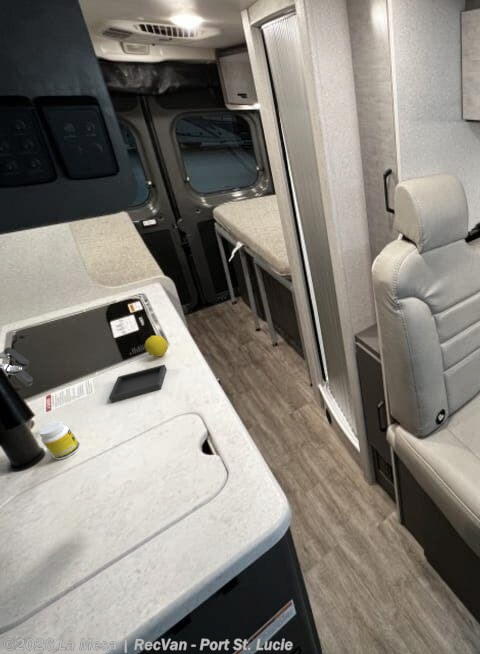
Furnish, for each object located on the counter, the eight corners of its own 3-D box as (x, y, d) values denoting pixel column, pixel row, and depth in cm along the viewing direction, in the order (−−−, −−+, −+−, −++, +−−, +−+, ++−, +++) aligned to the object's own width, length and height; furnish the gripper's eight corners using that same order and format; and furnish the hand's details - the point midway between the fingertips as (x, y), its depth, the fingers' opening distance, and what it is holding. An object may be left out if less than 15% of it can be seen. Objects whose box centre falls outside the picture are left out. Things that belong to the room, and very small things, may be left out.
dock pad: (111, 403, 107) (108, 398, 106) (120, 381, 115) (118, 376, 114) (161, 389, 112) (158, 384, 111) (166, 369, 119) (164, 364, 118)
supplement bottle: (84, 447, 94) (67, 423, 91) (60, 463, 91) (42, 438, 87) (74, 440, 96) (57, 416, 92) (50, 455, 92) (31, 431, 89)
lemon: (146, 359, 124) (136, 339, 120) (163, 349, 128) (154, 329, 125) (159, 363, 122) (149, 342, 118) (175, 352, 127) (166, 332, 123)
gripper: (-101, 362, 80) (-36, 414, 82) (-9, 324, 92) (46, 370, 94) (-97, 376, 84) (-35, 425, 86) (-9, 338, 96) (43, 382, 98)
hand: (7, 397), depth 90 cm, fingers open, 8 cm apart
